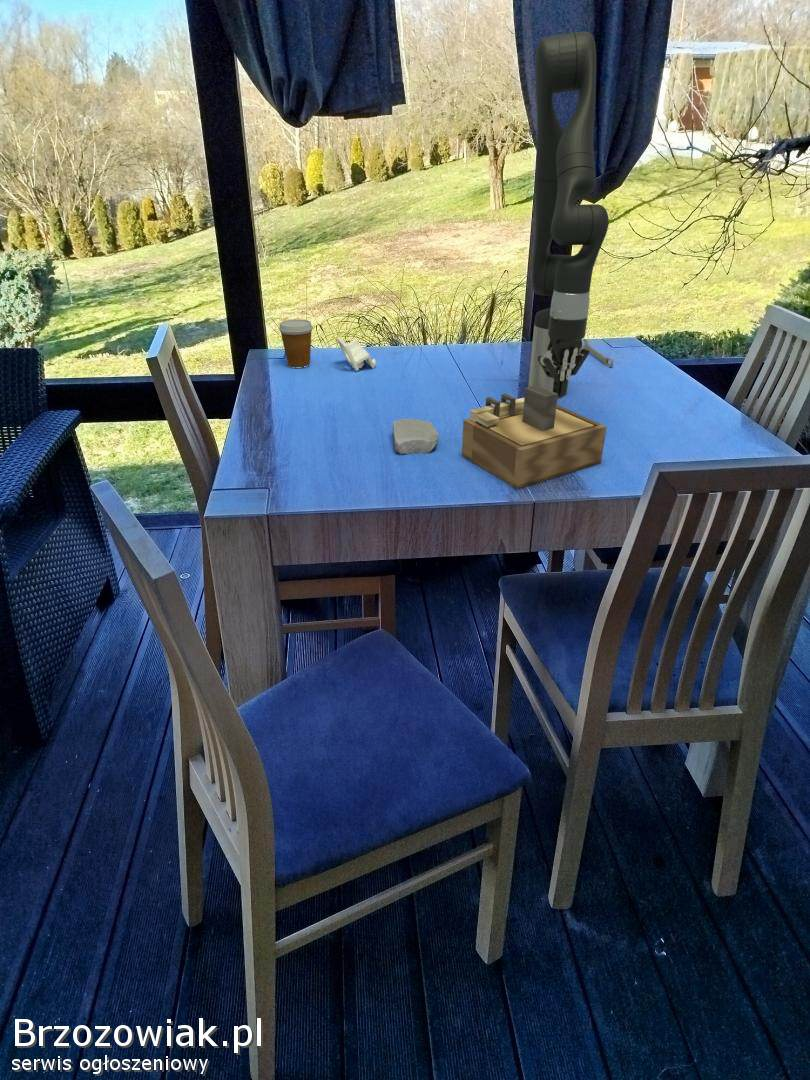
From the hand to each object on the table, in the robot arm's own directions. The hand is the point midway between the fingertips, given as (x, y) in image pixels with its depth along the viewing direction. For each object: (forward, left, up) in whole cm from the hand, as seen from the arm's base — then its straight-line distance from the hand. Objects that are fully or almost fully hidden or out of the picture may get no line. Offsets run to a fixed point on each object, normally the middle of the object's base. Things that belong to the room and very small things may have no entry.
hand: (558, 395), depth 147 cm
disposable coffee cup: (+27, -78, -9) cm, 83 cm away
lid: (+13, +8, -2) cm, 16 cm away
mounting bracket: (+13, -69, -9) cm, 71 cm away
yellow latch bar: (+14, +2, -1) cm, 14 cm away
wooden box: (+13, +7, -9) cm, 17 cm away
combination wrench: (-51, -38, -10) cm, 64 cm away
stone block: (+28, -13, -10) cm, 33 cm away
